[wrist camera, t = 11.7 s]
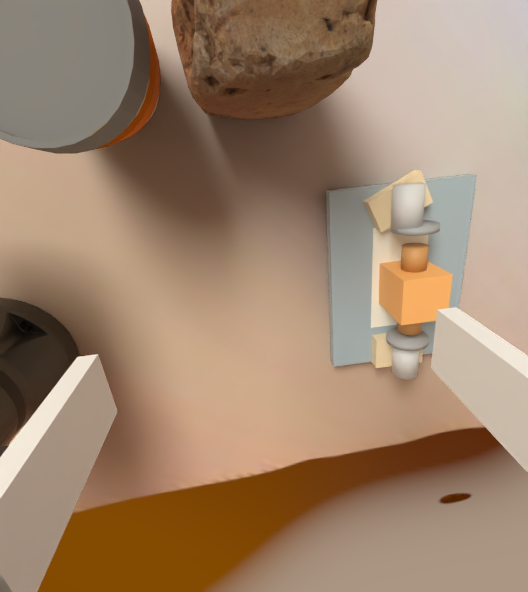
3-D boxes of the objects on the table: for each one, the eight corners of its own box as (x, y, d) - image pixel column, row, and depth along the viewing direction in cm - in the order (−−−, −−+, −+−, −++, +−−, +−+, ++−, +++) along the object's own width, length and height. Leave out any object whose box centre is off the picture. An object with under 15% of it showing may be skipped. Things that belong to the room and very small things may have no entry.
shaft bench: (330, 360, 46) (346, 392, 39) (325, 179, 37) (344, 183, 30) (446, 344, 46) (479, 374, 40) (469, 162, 37) (516, 164, 31)
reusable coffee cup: (48, 147, 33) (-83, 141, 20) (27, -15, 29) (-164, -174, 15) (179, 160, 35) (143, 163, 21) (179, 8, 30) (134, -117, 16)
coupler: (378, 320, 42) (399, 346, 37) (380, 242, 38) (405, 256, 33) (417, 315, 42) (445, 339, 37) (423, 236, 38) (455, 250, 33)
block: (303, 26, 31) (405, -159, 13) (308, 117, 34) (396, 72, 16) (186, 38, 31) (117, -133, 13) (201, 129, 34) (164, 99, 15)
